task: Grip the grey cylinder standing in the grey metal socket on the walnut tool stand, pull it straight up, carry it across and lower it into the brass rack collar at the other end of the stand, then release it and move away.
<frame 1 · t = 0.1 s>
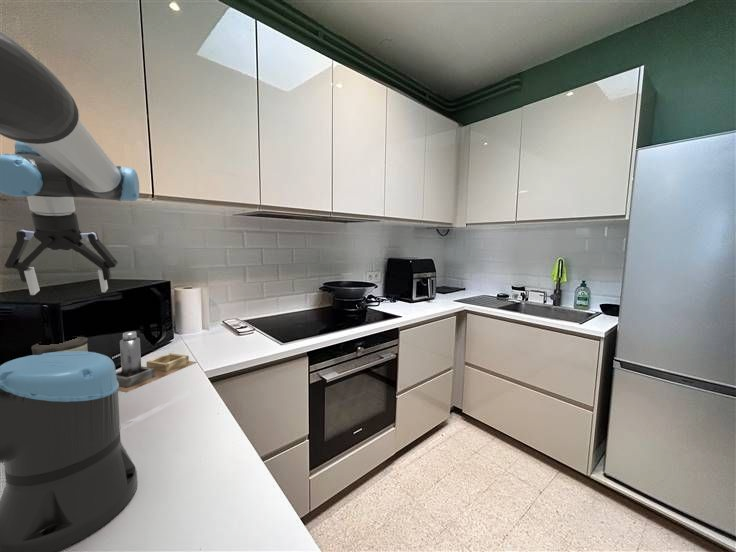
hand: (71, 291, 77), 28 cm above the counter, tool tilted 20°, fingers open, 13 cm apart
grey cylinder: (132, 380, 83), point 1 cm above the counter, touching tool stand
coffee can: (64, 393, 78), on the counter
tool stand: (151, 377, 88), on the counter
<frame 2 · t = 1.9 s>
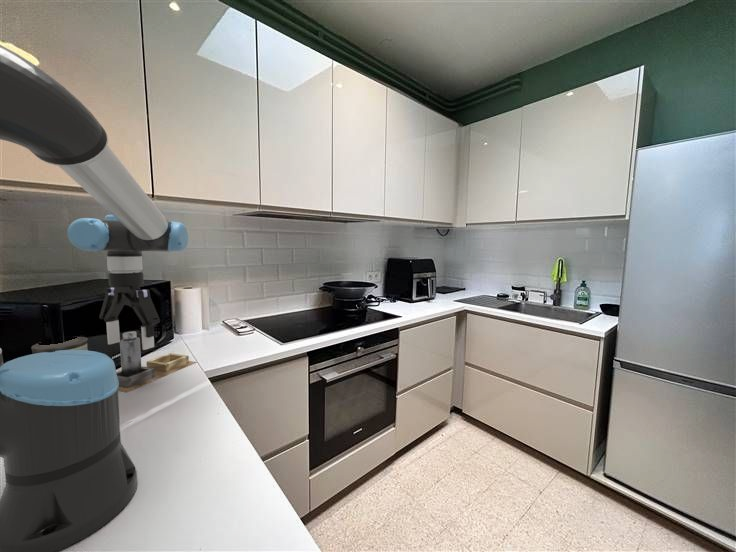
hand: (130, 345, 82), 12 cm above the counter, tool pointing down, fingers open, 13 cm apart
nothing on the counter moved.
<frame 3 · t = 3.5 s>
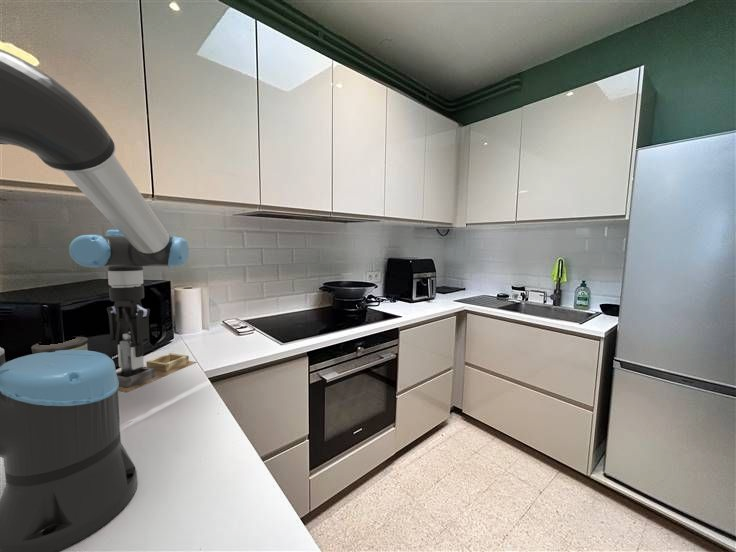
hand: (131, 366, 82), 6 cm above the counter, tool pointing down, fingers closed on grey cylinder, 4 cm apart
grey cylinder: (132, 380, 83), point 1 cm above the counter, touching gripper, tool stand
everything else where it was.
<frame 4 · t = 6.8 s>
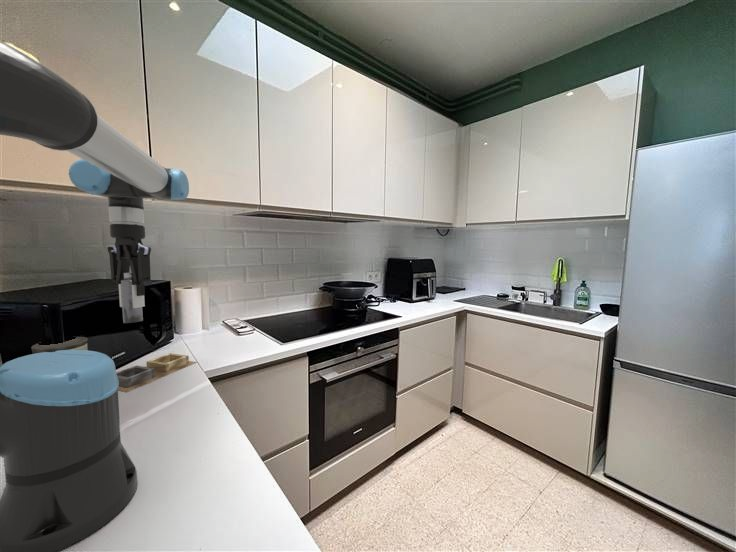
hand: (132, 306, 82), 23 cm above the counter, tool pointing down, fingers closed on grey cylinder, 4 cm apart
grey cylinder: (133, 321, 82), point 19 cm above the counter, touching gripper
everything else where it was.
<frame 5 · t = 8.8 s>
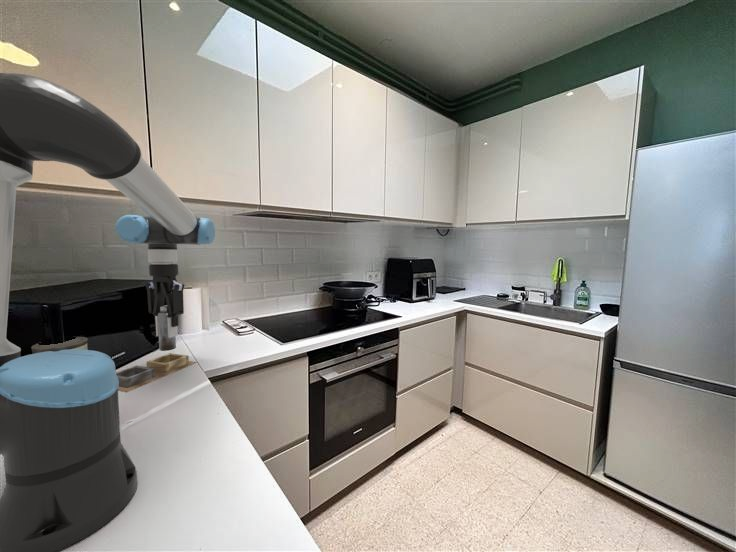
hand: (167, 335, 92), 12 cm above the counter, tool pointing down, fingers closed on grey cylinder, 4 cm apart
grey cylinder: (167, 348, 93), point 7 cm above the counter, touching gripper
everything else where it was.
when the fingers open (7 cm above the counter, at t = 10.4 s): grey cylinder stays where it is, resting on tool stand.
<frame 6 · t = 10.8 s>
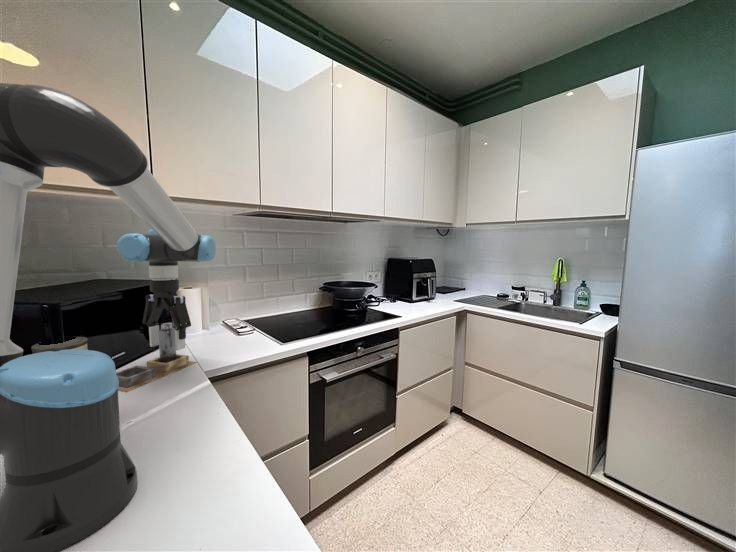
hand: (167, 347, 93), 8 cm above the counter, tool pointing down, fingers open, 10 cm apart
grey cylinder: (168, 366, 93), point 2 cm above the counter, touching tool stand
everything else where it was.
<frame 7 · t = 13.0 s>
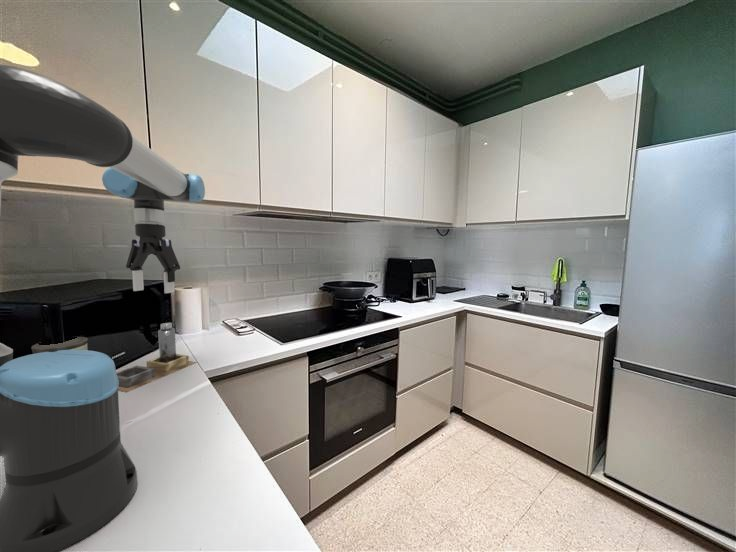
hand: (153, 291, 91), 26 cm above the counter, tool pointing down, fingers open, 13 cm apart
nothing on the counter moved.
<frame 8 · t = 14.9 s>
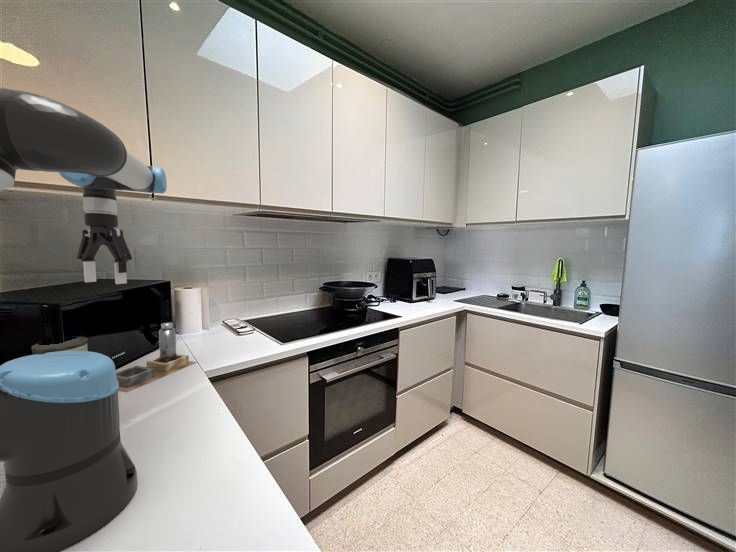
hand: (105, 282, 89), 29 cm above the counter, tool pointing down, fingers open, 13 cm apart
nothing on the counter moved.
at the end: grey cylinder 0.1 cm from the target spot on the tool stand, point 1.5 cm above the tool stand's base; grey cylinder tilted 1°; the gripper is holding nothing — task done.
